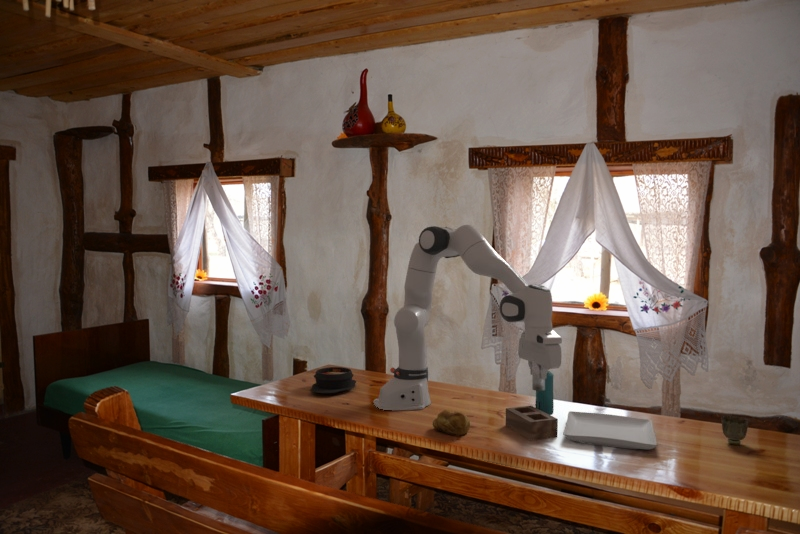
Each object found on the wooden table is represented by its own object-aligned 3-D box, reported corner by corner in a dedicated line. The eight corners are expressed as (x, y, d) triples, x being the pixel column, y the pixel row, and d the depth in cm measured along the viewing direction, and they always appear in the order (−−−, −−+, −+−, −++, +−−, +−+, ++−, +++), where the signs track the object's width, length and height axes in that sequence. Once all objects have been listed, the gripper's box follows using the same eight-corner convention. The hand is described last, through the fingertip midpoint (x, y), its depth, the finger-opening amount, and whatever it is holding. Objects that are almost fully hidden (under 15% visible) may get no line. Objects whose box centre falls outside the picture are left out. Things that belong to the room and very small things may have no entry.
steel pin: (536, 391, 185) (536, 360, 184) (529, 388, 188) (529, 358, 188) (547, 390, 186) (547, 359, 185) (540, 387, 190) (540, 357, 189)
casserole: (329, 381, 260) (329, 363, 260) (366, 385, 253) (366, 366, 253) (299, 395, 237) (299, 374, 237) (339, 399, 230) (339, 379, 230)
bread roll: (427, 431, 191) (427, 407, 191) (442, 424, 199) (443, 401, 199) (460, 439, 184) (460, 414, 183) (475, 431, 192) (475, 407, 191)
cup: (747, 449, 174) (748, 423, 174) (720, 445, 178) (720, 419, 178) (748, 442, 181) (748, 417, 180) (721, 438, 185) (721, 413, 184)
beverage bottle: (556, 416, 207) (557, 362, 206) (547, 421, 202) (548, 364, 202) (540, 413, 212) (541, 359, 211) (531, 417, 207) (532, 362, 206)
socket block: (530, 440, 182) (530, 422, 182) (505, 425, 197) (505, 408, 197) (557, 437, 186) (557, 418, 185) (530, 422, 201) (531, 405, 200)
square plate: (657, 456, 170) (658, 443, 170) (562, 445, 179) (562, 433, 179) (652, 428, 195) (652, 417, 195) (568, 420, 205) (568, 409, 204)
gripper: (513, 330, 195) (513, 371, 196) (547, 340, 176) (547, 384, 176) (529, 329, 197) (529, 369, 198) (565, 339, 178) (565, 383, 178)
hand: (538, 376), depth 187 cm, fingers closed on steel pin, 4 cm apart
